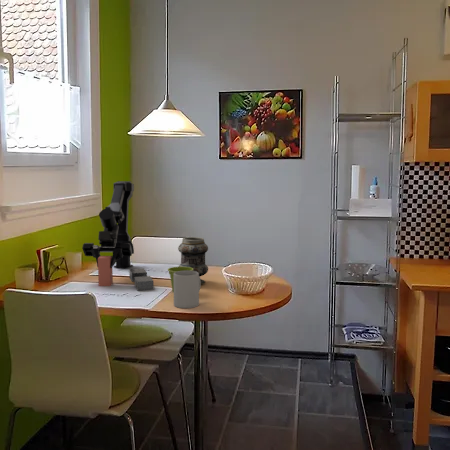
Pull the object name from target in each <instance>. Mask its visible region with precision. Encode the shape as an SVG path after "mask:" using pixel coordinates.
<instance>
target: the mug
mask: <svg viewBox="0 0 450 450" xmlns="http://www.w3.org/2000/svg"><path fill="white" fill-rule="evenodd" d="M200 279H201V276H199V273H198V272H196V271H177V272H175V273H174V293H173V306H174V307H175V308H179V309H192V308H196V307H198V306H199V305H200V294H199V293H200V291H201V286H202V285H201V281H200Z"/></svg>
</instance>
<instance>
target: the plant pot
mask: <svg viewBox="0 0 450 450" xmlns="http://www.w3.org/2000/svg"><path fill="white" fill-rule="evenodd" d="M167 271H168V274H169V278H170V282H171V283H170V284H171V291H172V293H173V294H174V273H175V272H177V271H193V268H191V267H178V266H172V267H169V268H167Z"/></svg>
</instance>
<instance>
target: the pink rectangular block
mask: <svg viewBox="0 0 450 450" xmlns="http://www.w3.org/2000/svg"><path fill="white" fill-rule="evenodd" d="M111 259H112V255H100V257H99V258H98V267H97V271H98V272H97V276H98V280H97V281H98V287H111V285H113V284H114V283H113V282H114V280H113V279H114V277H113V276H114V275H113V273H114V272H113V267H112V268H110V263H111Z"/></svg>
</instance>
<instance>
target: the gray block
mask: <svg viewBox="0 0 450 450" xmlns="http://www.w3.org/2000/svg"><path fill="white" fill-rule="evenodd" d="M128 273H129V279H130V281H131V282H133V283H134V287H135V289H136V290H137V292H140V291H153V290H154V279H153V277H151V275H148V272H147V271H146V269H145V268H129V271H128Z"/></svg>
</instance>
